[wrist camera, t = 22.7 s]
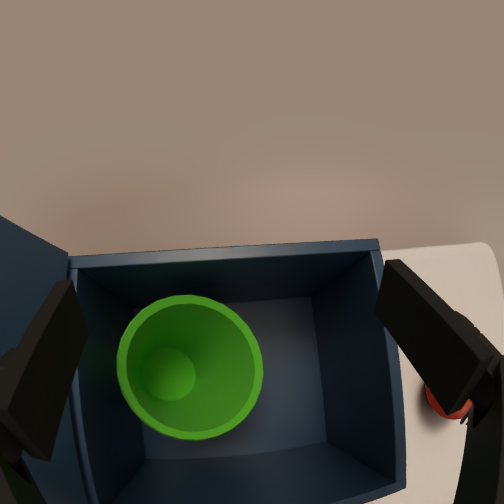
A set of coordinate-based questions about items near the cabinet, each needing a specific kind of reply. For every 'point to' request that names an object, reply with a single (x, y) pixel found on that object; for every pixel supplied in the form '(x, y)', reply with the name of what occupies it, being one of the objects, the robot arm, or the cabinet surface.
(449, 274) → the cabinet surface
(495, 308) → the cabinet surface
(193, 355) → the cup
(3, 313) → the lid
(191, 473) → the box
